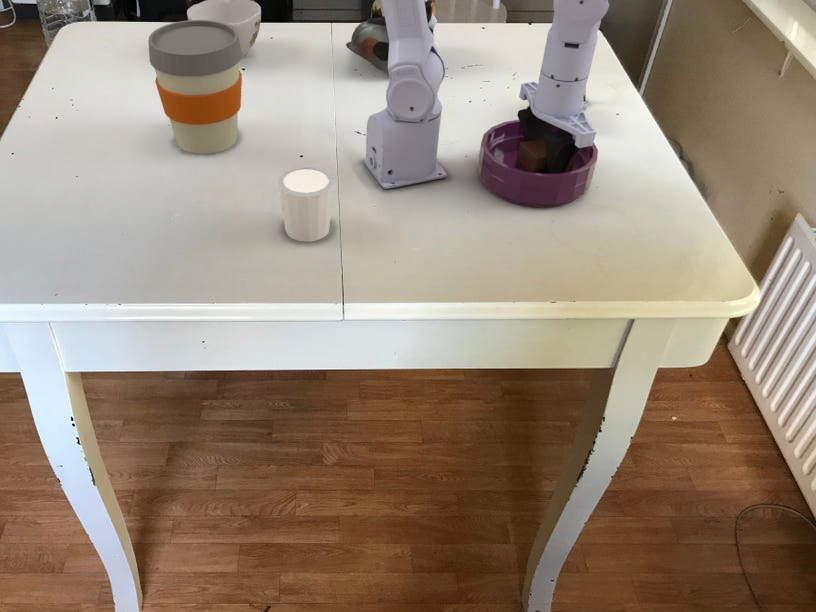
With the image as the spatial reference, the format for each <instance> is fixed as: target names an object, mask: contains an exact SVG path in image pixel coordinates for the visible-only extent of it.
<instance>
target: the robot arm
mask: <svg viewBox="0 0 816 612" xmlns="http://www.w3.org/2000/svg"><path fill="white" fill-rule="evenodd" d="M552 3H553V4H552V7H553V19H552V23H551V26H550V28H549V29H548V32H547V36H546V41H545V47H544V52H543V56H542V61H541V66H540V67H541V68H540V72H539V76H538V82H536V81H530V82H529V81H528V82H523V83H521V84H520V90H519V95H518V98H519V99H520V100H522V101H527V103H528V106H526V108H522V109H519V110H518V111H517V118H518V119H519V120H520V123H521V126H522V130H523V136H524V142H526V141H531V140H537V139H542V138H544V140H545V145H546V164H545V174H561V173H564V172H565V170H566V168H567V167H568V165H569V163H570V162H571V160H572V159H573V157H574V156H575V155H576V153H577V152H578V151H579V150H580V149H581V148H582V147H588V146H592V145H593V142H594V141H595V138H596V134H597V131H596V130H595V128H593V127H592V126H591V124H590V122H589V119H588V117H587V115H586V113H585V111H587V108H588V103H587V102H586V101H585V102H584V101H583V96H584V92H585V88H586V89H587V83H588V80H589V75H590V71H591V66H592V64H593V59H594V55H595V51H596V47H597V42H598V39H599V36H598V31H599V29H600V27H601V22H602V19H603V18H604V17H605V15H606V14H607V12H608V10H609V8H610V3H609V0H553V2H552ZM381 4H382V11H383V16H385V21H386V26H387V32H388V37H389V56H388V71H389V74H388V75H389V76H388V78H389V79H388V85H387V88H386V91H385V100H386V107H385V108H383V109H382V110H381V111H378V112H376V113H373V114H371V115H369V117H368V119H367V123H366V142H365V143H366V144H365V158H364V159H363V163H364V165H366V167H367V168H368V170H369V171H370V173H371V174H372V175H373V177H375V179H376V180H377V182H378V183H379V185H380V186H381V187H382V189H385V190H388V189H395V188H399V187H405V186H408V185H414V184H419V183H425V182H429V181H430V182H431V181H435V180H440V179H445V178H447V176H448V174H447V172H446V171H445V169H444V168H443V167H442V166H441V165H440V164H439V163H438V161H437V159H438V158H437V156H438V149H439V148H438V147H439V139H440V127H441V120H442V110H443V106H442V103H441V101H440V99H439V97H438V92H439V90H440V87H441V85H442V83H443V82H444V78H445V76H446V63H445V60H444V58H443V56H442V55H441V53H440V52H439V50H438V49H437V47H436V44H435V37H434V36H435V35H434V36H433V34H434V33H433V34H432V32H431V31H430V29H429V27H428V22H427V16H426V9H425V2H424V0H381ZM554 126H557V127H559V131H555V132H552V130H553V128H554ZM594 143H595V142H594Z"/></svg>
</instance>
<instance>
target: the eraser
mask: <svg viewBox="0 0 816 612" xmlns="http://www.w3.org/2000/svg"><path fill="white" fill-rule="evenodd" d="M576 154H577V153H576ZM575 158H576V155H575V156H574V157H573V159H572V160H571V162H570V163H569V165H568V167H567V168H566V170H565V172H564V173H566V172H571V171H572V170H573V166H574V162H575ZM545 164H546V145H545V140H544V138H542V139H537V140H531V141H526V142H520V145H519V151H518V156H517V161H516V166H515V168H516V169H520V170H523V171H527V172H534V173H541V174H545Z"/></svg>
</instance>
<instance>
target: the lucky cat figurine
mask: <svg viewBox="0 0 816 612" xmlns="http://www.w3.org/2000/svg"><path fill="white" fill-rule="evenodd" d="M424 2H425V9H426V16H427V22H428V27H429V29H430V31H431V32H432V34H433V36H435V34H434V31H435V27H436V25H437V23H438V20H437V18H436V9H435V4H436V0H424ZM382 11H383V10H382V8H381V6H379V5H377V4H376V5H374V6H373V7H372V8H371V11H370V12H371V13H370V14H371V17H369V18H368V19H367V20H365V21H362V22H360V23H359V24H358V25H357V26H356V27H355V29H354V30H353V32H352V34H351V38H350V39H351V40H350V41H347V43H346V44H345V46H346V48H347V49H348V50H349V51H351V52H352V53H354V54H355V55H356V56H358V57H361V58H362V59H364V60H365V61H367V62H369V64H371V66H373V67H374V68H376V69H377V70H380V71H382V72H383V73H385V74H388V75H389V71H388V56H389V37H388V32H387V26H386V21H385V15H383V12H382Z"/></svg>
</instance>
